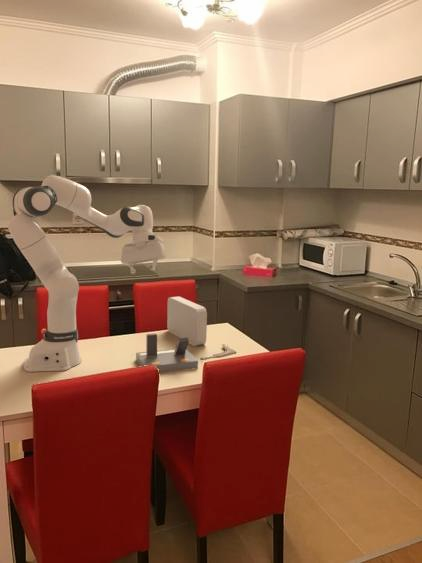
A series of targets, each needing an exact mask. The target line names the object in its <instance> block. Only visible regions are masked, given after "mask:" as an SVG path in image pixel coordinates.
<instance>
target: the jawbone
mask: <svg viewBox="0 0 422 563" xmlns="http://www.w3.org/2000/svg"><path fill="white" fill-rule="evenodd" d="M222 347H223V348H224V351H223V352H220V353H215V354H212V355H211V356H205V357H202V356H201V357H200V360H201V361H205V360H209V359H216V358H217V359H220V358H225V357H228V356H232V355H234V354H237V351H236V349H233V348H230V347H229V346H228V345H226V344H225V343H222ZM204 359H205V360H204Z"/></svg>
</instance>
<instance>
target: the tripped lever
mask: <svg viewBox="0 0 422 563" xmlns="http://www.w3.org/2000/svg"><path fill="white" fill-rule="evenodd" d="M145 343H146V346H145V347H146V348H145V349H146V351H145V352H146V358H149V357H158V354H157V351H158V334H157V333H147V334H146V342H145Z"/></svg>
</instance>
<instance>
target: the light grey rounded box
mask: <svg viewBox="0 0 422 563" xmlns="http://www.w3.org/2000/svg"><path fill="white" fill-rule="evenodd" d="M166 310H167V311H166V312H167V316H166V317H167V318H166V320H167V325H166V326H167V331H168V332H169V333H170V334H173V335H175V336H176V337H177V338H188V340H189V342H188V344H190V345H192V346H194V347H196V346H197V347H198V346H203V345H205V344H206V343H207V332H208V331H207V329H208V327H207V326H208V324H207V323H208V322H207V321H208V312H207V309H206V307H205V306H203V305H201V304H198V303H195V302H193V301H191V300H188V299H186V298H184V297H182V296H171V297H170V296H169V297H168V298H167V309H166Z"/></svg>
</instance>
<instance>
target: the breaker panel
mask: <svg viewBox="0 0 422 563" xmlns="http://www.w3.org/2000/svg"><path fill="white" fill-rule="evenodd" d="M175 349H176V348H171V349H170V348H169V349H161V350H160V349H159V350H157V354H158V357H149V358H146V351H142V352H136V353H135V360H136V362H137V364H138V366H139V367H140V366H144V365H155V366H156V367H157V368H158V369H159V372H160V373H169V372H178V371H186V369H187V370H192V368H195V369H198V368H199V360H198V359H197V357H195V356H194V355H193V354H192V352H190V350H189V349H188V348H187V349H186V352H185V354H179V355H174V351H175ZM160 373H159V374H160Z"/></svg>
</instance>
